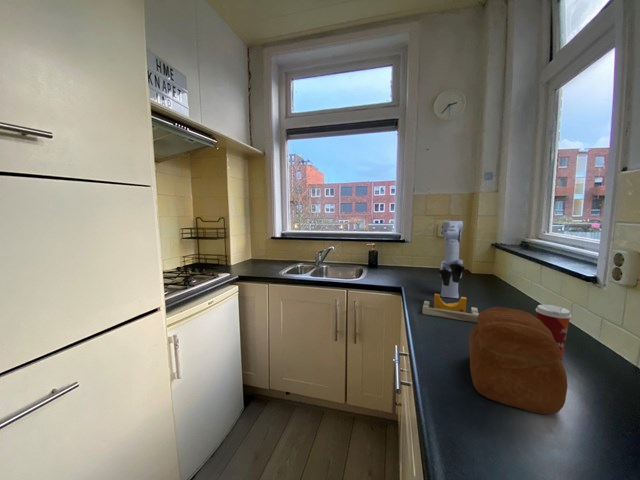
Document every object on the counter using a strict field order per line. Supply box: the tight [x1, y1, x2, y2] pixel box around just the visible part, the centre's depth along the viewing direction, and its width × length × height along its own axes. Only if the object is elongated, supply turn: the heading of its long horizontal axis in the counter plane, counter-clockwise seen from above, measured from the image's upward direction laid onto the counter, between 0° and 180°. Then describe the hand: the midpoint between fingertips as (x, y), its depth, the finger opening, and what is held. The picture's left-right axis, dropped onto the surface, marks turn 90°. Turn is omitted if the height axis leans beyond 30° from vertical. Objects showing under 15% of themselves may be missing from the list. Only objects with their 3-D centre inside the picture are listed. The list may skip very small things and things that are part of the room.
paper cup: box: [535, 304, 572, 361], centre depth 74 cm, size 8×8×14 cm
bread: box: [468, 306, 568, 415], centre depth 62 cm, size 18×22×17 cm
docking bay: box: [421, 300, 480, 324], centre depth 106 cm, size 10×20×2 cm, turn 63°
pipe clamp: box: [433, 293, 467, 313], centre depth 110 cm, size 12×4×6 cm, turn 63°
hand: (450, 283), depth 113 cm, fingers open, 7 cm apart
